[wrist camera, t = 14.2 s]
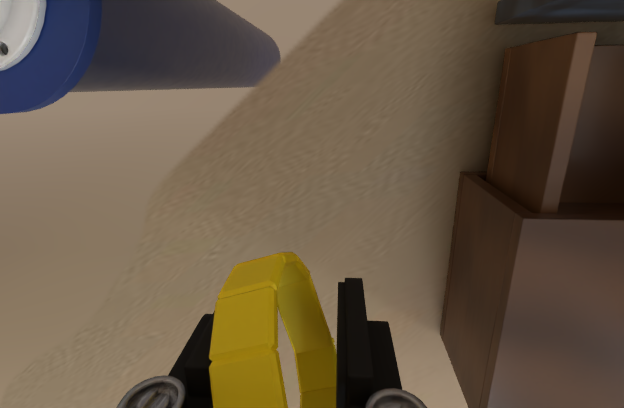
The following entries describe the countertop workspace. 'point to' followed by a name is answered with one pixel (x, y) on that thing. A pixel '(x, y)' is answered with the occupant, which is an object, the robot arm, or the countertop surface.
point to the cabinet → (534, 304)
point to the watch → (270, 337)
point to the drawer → (560, 113)
